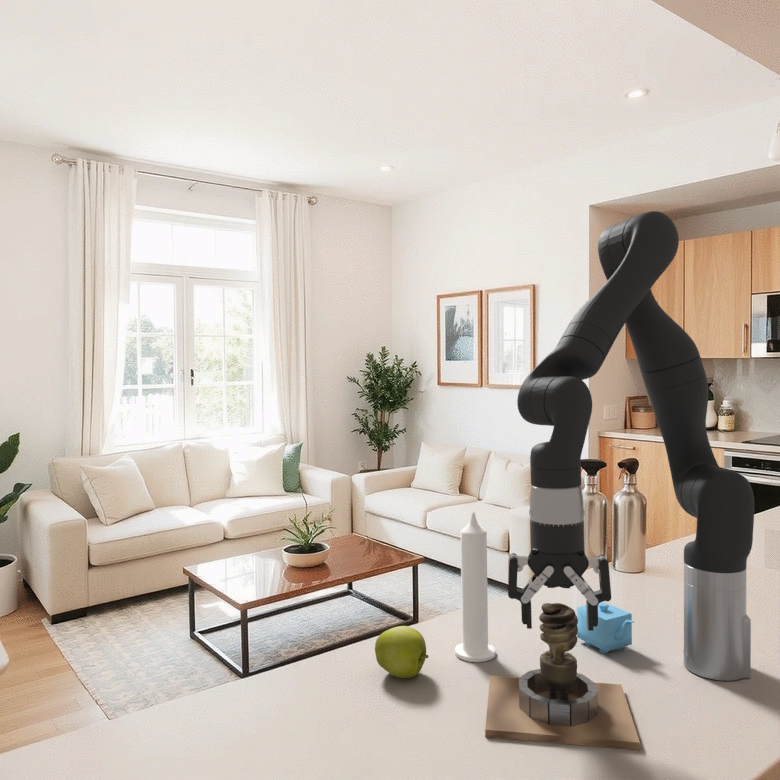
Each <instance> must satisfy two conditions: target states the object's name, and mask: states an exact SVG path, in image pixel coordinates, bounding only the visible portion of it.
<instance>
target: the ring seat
mask: <svg viewBox="0 0 780 780" xmlns="http://www.w3.org/2000/svg"><path fill="white" fill-rule="evenodd" d="M595 683H596V682H594V681H593V680H592V679H591V678H589V677H587V676H586V675H584V674H583V673H580V672H577V677H576V680H575V682H574V683H573V684H572V686H571V687H570V688H569V694H571V695H574V696H577V697H579V698H577V699H573V700H568V701H567V700H553V699H548V698H545V697H542V696H540V695H537V694H536V693H541V692H545V691H549V689H548V685H547V684H546V682H545V681H544V680H543V678H542V676H541V671H540V668H538V669H533V670H529V671H527V672H525V673H523V674H522V675H521V676H519V707H520V709H521V710H522V711H523V712H524V713H525V714H526V715H527V716H528V717H531V718H532V719H534V720H537V721H540V722H543V723H545V724H549V723H550V725H557V726H569V727H570V726H576V725H580V724H584V723H588V722H590V721H591V720H592V719H593V718H594V717H595V716H596V715H597V713H598V692H597V688H596V684H595Z"/></svg>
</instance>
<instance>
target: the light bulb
mask: <svg viewBox="0 0 780 780" xmlns="http://www.w3.org/2000/svg"><path fill="white" fill-rule="evenodd" d="M541 611H542V613H541V614H540V615H539V616H538V618H539V619H538V620H539V621H540V622H541V623H540V625H539V629H540V631H541V632H542V633H540V635H539V636H540V638H539V639H540V640H541V641H542V642H544V643H545V644H547V645H548V647H549V649H548V650H546V651H545V652H542V653H541V654H540V656H539V667H540V668H539V669H540V671H541V676H542V678H543V680H544V681H545V682H546V684H547V685H548V689H549V699H553V700H567V701H568V699H569V698H568V694H569V688H570V687H571V686H572V684H573V683H574V682H575V680H576V677H577V673H578V660H577V658H576V657H575V656H574V655H573V654H572V653H570V652H569V651H571V650H573V649H574V648H575V647H576V645H577V643H578V638H577V633H578V627H577V624H578V618H577V613H576V611H575V609H573V608H572V607H570V606H568V605H566V604H564V603H561V602H560V603H559V602H555V603H551V602H545V603H542V605H541Z"/></svg>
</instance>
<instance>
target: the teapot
mask: <svg viewBox="0 0 780 780" xmlns="http://www.w3.org/2000/svg"><path fill="white" fill-rule="evenodd" d="M632 614H633V613H632V612H629V611H627V610H624V609H621V608H619V607H617V606H614V605H612V604H609V603H607V602H605V601H603V602H600V603H599V605H598V625H597V627H593V628H594V630H593V631H588V628H587V609H586V604H584V605H582V606H577V607H576V616H577V618H578V624H577V627H578V633H577V635H576V636H577V639H580V640H581V641H584V645H585V646H588V647H592V646H594V647H596V648H598V649H599V653H601V654H609V652H610V651H615V650H617V649H618V650H623V649H624V647H628V646H631V645H632V644H633V636H632V635H633V633H632V632H633V631H632V630H633V629H632V628H633V627H632V626H633V623H635V620H633V615H632Z"/></svg>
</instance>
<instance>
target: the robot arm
mask: <svg viewBox="0 0 780 780" xmlns="http://www.w3.org/2000/svg"><path fill="white" fill-rule="evenodd" d="M679 240H680V238H679V232H678V230H677V227H676V225H675V223H674V222H673V220H672V219H671V217H669V216H668V215H667V214H665V213H664V212H661V211H657V210H656V211H655V210H653V211H652V210H651V211H645V212H642V213H640V214H637V215H634V216H632V217H630V218H627V219H625V220H623V221H620V222H618V223H616V224H614V225H611V226H608V227H607V228H605V229H604V230H603V231H602V232H601V234H600V236H598V241H597V242H598V243H597V252H598V259H599V262H600V265H601V269H602V271H603V274H604V276H605V278H606V280H607V281H606V282H604V284H603V285H602V286H601V287H599V289H598V290H597V291H596V292H595V293H594V294H593V295H592V296H590V298H588V300H587V301H585V302H584V304H583V305H582V306H581V307H580V308H579V309H578V311H577V312H576V313H575V314H574V316H573V318H572V319H571V320H570V322H569V323H568V325H567V327H566V329H565V330H564V332H563V334H562V335H561V337H560V339H559V340H558V343H557V344H556V347H554V349H553V350H552V351H550V353H548V354H547V355H546V356H544V358H543V359H542V360H541V361H540V362H539V363H538V364H537V365H536V366H535V368H533V370H531V372H530V373H528V375H527V376H526V378H524V380H523V382H522V385H521V386H520V388H519V391H518V393H517V400H516V401H517V403H516V404H517V410H518V412H519V414H520V416H521V418H522V419H523V420H525V421H526V422H528V424H532V425H535V426H536V425H537V426H550V427H551V426H552V427H553V429H552V433H551V436H550V439H549V441H544V442H539V443H537V444H535V445H533V447H532V448H531V450H530V457H529V458H530V459H529V463H530V464H529V465H530V467H529V468H530V493H529V512H528V513H529V534H530V536H529V537H530V538H529V539H530V552H529V555H528V556H525V555H523V556H522V555H517V554H516V553H514V552H512V553H510V554H509V555H508V556H509V558H508V585H507V587H508V588H507V596H508V598H509V599H511V600H517V601H519V603H520V608H521V609H520V610H521V612H520V613H521V623H522V624H523V625H526V629H528V630H529V629H530V630H531V629H532V628H533V626H532V625H533V623H532V598H533V597H534V596H535V595H536V593H537V594H538V592H539V591H540V590H541V588H542V587H543V586H545V587H547V588H548V589H554V588H561V589H571V587H573V586H575V587H576V589H577V590H578V591H579V592H580V594H581V595H583V597H584V598H585V599H586V601H585V602H586V603H585V605H586V609H587V628H588V631H593V630H594V628H593V627H597V625H598V605H599V603H600V602H610V601H611V599H612V589H611V588H612V587H611V577H610V566H609V565H610V564H609V561H608V559H607V557H606V555H604V554H598V556H597V557H596V556H593V557H588V556H587V555H586V552H585V551H586V548H585V544H586V543H585V507H584V504H585V503H584V495H583V489H582V464H581V457H582V454H583V450H584V446H585V445H584V444H585V441H586V437H587V433H588V429H589V424H590V420H591V417H592V411H593V399H592V398H593V397H592V394H591V391H590V389H589V387H588V385H587V384H586V382H585V381H584V380H587V379H590V378H592V377H594V376H595V375H597V373H598V372H599V371H600V369H601V367H602V365H604V363H605V361H606V360H605V359H606V358H607V356H608V354H609V352H610V351H611V349H612V347H613V345H614V343H615V341H616V339H617V338H618V336H619V334H620V333H621V331H622V329H623V327H624V326H626V330H627V333H628V335H629V337H630V341H631V344H632V347H633V350H634V352H635V356H636V359H637V363H638V367H639V371H640V374H641V377H642V380H643V383H644V386H645V390H646V392H647V395H648V398H649V401H650V403H651V404H650V405H651V407H652V410H653V412H654V416H655V420H656V423H657V426H658V428H659V431H660V434H661V436H662V439H663V440H662V441H663V444H664V447H665V451H666V456H667V461H668V466H669V469H670V476H671V482H672V485H673V490H674V494H675V497H676V498H675V499H676V500H677V502H678V504H679V506H680V507H681V509H683V511H684V512H686V513H687V514H688V515H690V516H692V517H693V518H695V519H696V531H695V539H694V540H691V541H690V542H687V543H686V544H685V545H684V548H683V664H684V666H685V668H686V669H687V670H689V671H690V672H691V673H693V674H696V675H697V676H700V677H703V678H707V679H711V680H715V681H716V680H717V681H726V682H727V681H729V682H731V681H736V680H741V679H750V678H751V675H752V674H751V673H752V672H751V671H752V670H751V669H752V668H751V667H752V665H751V664H752V663H751V661H752V660H751V659H752V658H751V657H752V652H751V651H752V648H751V645H752V641H751V640H752V639H751V638H752V622H751V618H750V617H749V615H748V614H747V561H748V558H749V556H750V553H751V551H752V547H753V539H754V538H753V537H754V525H755V524H754V523H755V496H754V492H753V488H752V486H751V483H750V482H749V480H748V479H747V478H746V477H745V476H744V475H743V474H741V473H740V472H737V471H736V470H733V469H732V470H731V469H728V468H724V467H722V466H721V467H720V465H719V464H718V462H717V460H716V457H715V454H714V452H713V450H712V446H711V443H710V441H709V437H708V432H707V413H708V405H709V383H708V378H707V373H706V370H705V368H704V364H703V361H702V358H701V356H700V351H699V348H698V347H697V344H696V343H695V341H694V340H693V339H692V338H691V336H690V335H689V334H688V333H687V332H686V330H684V328H682V327H681V326H680V325H679V324H678V323H677V322H676V320H674V319H673V318H672V317H670V315H669V314H668V313H667V312H666V311H665V310H664V309H663V308H662V307H661V306H660V305H659V303H658V301H657V300H656V298H655V296H654V294H653V292H652V288H653V286H654V284H655V283H656V282H657V281H658V280H659V278H660V277H661V276H662V275H663V274H664V272H665V271H666V270H667V269H668V267H669V266H670V265H671V263H672V262H673V260H674V259H675V257H676V255H677V252H678V249H679V244H680V243H679V242H680V241H679ZM526 565H527V566H528V567H529V569H530V570H531V571H532V573H533V575H532V576H531V577H530V578H529V580H528V582H527V583H526V585H525V586H524V587H523V589H522V588H519V587H518V573H520V572H522V571H523V570H524V567H525V566H526ZM589 567H590V568H592V569H593V571H594V573H595V574H598V582H599V589H598V590H595V591H594V590H593V588H592V587H591V586H590V585H589V583H588V582H587V580H586V579H585V578H584V577H583V575H584V573H585V572H586V570H588V568H589Z"/></svg>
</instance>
